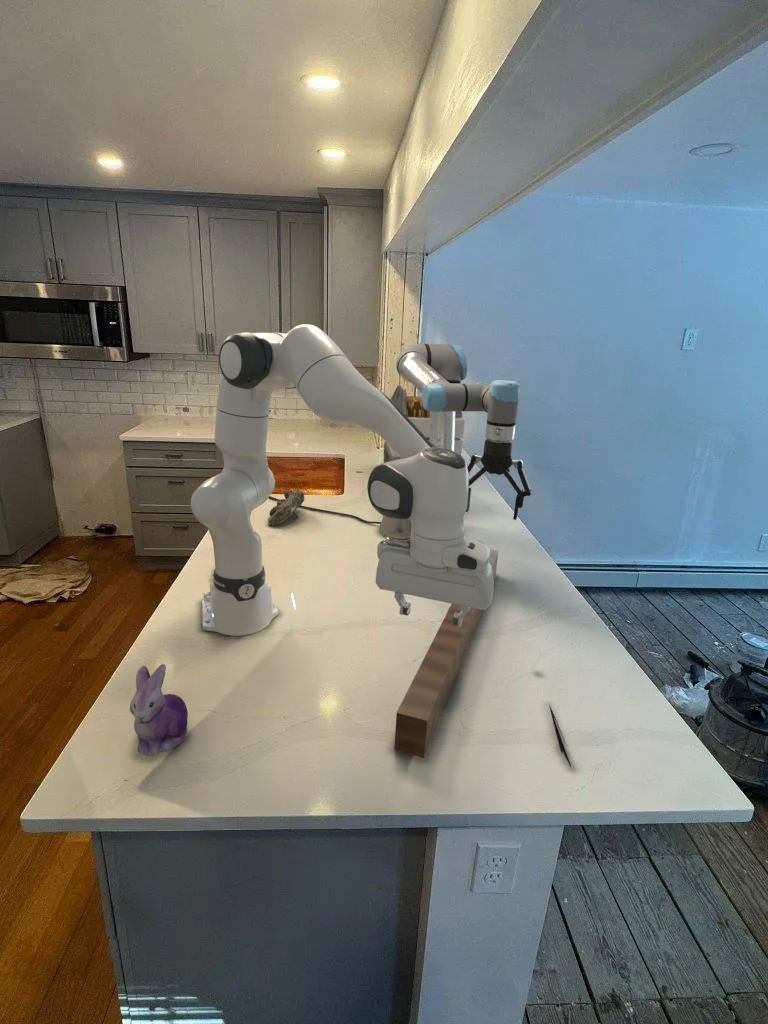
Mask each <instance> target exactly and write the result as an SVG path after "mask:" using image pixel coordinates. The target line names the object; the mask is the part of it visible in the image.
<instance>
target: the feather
mask: <svg viewBox="0 0 768 1024" xmlns="http://www.w3.org/2000/svg"><path fill="white" fill-rule="evenodd" d="M548 706H549V710H550V714H551V718H552V719H551V720H552V724H553V726H554V731H555V735H556V739H557V742H558V745H559V750H560V754H564V757H565V758H566V760H567V762H568V764H569V766H570V767H572V765H571V761H570V759H569V756H568V754H567V753H568V752H567V751H566V748H568V745H565V744H564V743H566V742H567V741H566V740H565V739H566V738H565V737H564V734H563V731H562V729H561V728H560V726H559V723H558V721H557V718H556V716H555V714H554V712H553V709H552V707H551V705H550V702H548ZM565 746H566V748H565ZM570 753H571V751H569V754H570ZM571 754H572V753H571Z"/></svg>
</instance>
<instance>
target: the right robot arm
mask: <svg viewBox="0 0 768 1024" xmlns="http://www.w3.org/2000/svg"><path fill="white" fill-rule="evenodd" d="M468 365H469V364H468V358H467V354H466V351H465V350H464V348H463V347H462V346H461V345H458V344H450V343H414V344H410V345H408V346H407V347H405V348H403V349H402V351H400V352H399V354H398V356H397V358H396V362H395V369H396V372H397V374H398V376H399V377H400V378H401V379H402V380H403V381H406V382H407V383H411V384H412V385H413V386H414V388H416V389H417V390H418V391H419V393H420V394H421V397H422V404H423V407H424V409H425V410H427V411H430V442H431V443H432V444H433V445H434V446H436V447H438V448H443V449H449V450H452V451H454V437H455V411H461V412H483V413H486V414H487V417H486V425H485V434H484V436H485V440H484V444H483V454H482V456H481V455H477V453H473V454H472V456H471V457H470V461H469V463H468V465H467V468H468V475H469V474H470V472H471V471H472V470H473V468H474V467H475V465H476V464H478V463H479V462H481V464H482V466H483V467H482V468H480V469H479V470H478V471H477V472H476V473H475V474H474V475H473V476H472V477H470V478H469V490H468V504H467V510H466V512H465V513H468V512H469V511H470V505H471V494H472V487H471V486H472V485H473V484H474V483H475V482H476V481H477V480H478V479H480V477H482V476H483V475H484V474H485V473H486V472H487V473H488V474H489V475H493V474H495V475H497V476H501V475H503V476H504V477H505V478H506V479H507V480H508V482H509V483H510V485H511V487H512V488H513V489H514V491H515V492H516V495H515V502H514V510H513V520H514V521H517V519H518V513H519V509H522V508H523V507H524V502H525V501H524V499H525V497H530V496H531V495H532V492H533V491H532V488H531V485H530V483H529V480H528V478H527V474H526V472H525V468H524V460H523V459H521V458H520V459H517V460H514V459H513V458H512V456H513V448H514V442H513V440H514V439H515V434H516V433H515V431H516V423H517V422H516V421H517V416H518V415H517V414H518V409H519V401H520V387H521V386H520V383H519V382H517V381H514V380H507V379H496V380H493V381H491V383H490V382H488V381H487V382H483V381H480V382H479V381H478V382H476V383H462V381H464V380H465V379H466V378H467V374H468V371H469V369H468V368H469V366H468ZM512 466H514V468H515V469H516V470H517V473H518V476H519V479H520V482H521V484H522V486H521V485H520V483H519V482H518V480H517V479H516V477H515V476H514V475H513V473H512V471H511V469H510V468H511V467H512ZM522 487H523V488H522ZM268 498H269V499H270V500H274V501H276V502H277V501H278V500H279V498H276V497H273V496H271V495H270V496H269V497H268ZM299 508H302V509H306V510H311V511H317V512H322V513H327V514H334V515H339V516H345V517H348V518H349V517H350V518H354V519H357V520H359V521H361V522H363V523H366V524H369V525H371V524H374V525H375V524H376V525H379V526H378V533H379V534H380V535H381V536H382V537H385V538H392V539H394V540H404V541H410V540H411V526H412V523H411V521H410V520H408V519H396V518H390V517H386V516H383V515H382V519H381V521H370V520H365V519H363V518H361V517H359V516H356V515H353V514H350V513H343V512H337V511H332V510H326V509H320V508H315V507H311V506H306V505H301V506H300V507H299Z"/></svg>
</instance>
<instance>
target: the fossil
mask: <svg viewBox="0 0 768 1024" xmlns="http://www.w3.org/2000/svg"><path fill="white" fill-rule="evenodd" d="M283 496H284V498H283V499H281V498H280V499H279V498H278V499H279V500H278V501H277V500H276V505H275V506H274V507H272V508H270V510H269V513H268V514H269V516H270V517H269V518H268V519H267V521H268V522H267V523H268V525H269V526H272V527H275V526H277V525H280V524H282V523H283V522H285V521H286V520H288V518H290V517H291V516H292V515H293V516H294V517H296V519H298V518H299V517H298V515H297V514H296V511H297V510H298V509H299V508H301V507H300V506H303V503H304V502H305V494H304V492H303V491H301V490H300V489H295V490H294V491H292V490H286V491H285V492H284V493H283Z"/></svg>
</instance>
